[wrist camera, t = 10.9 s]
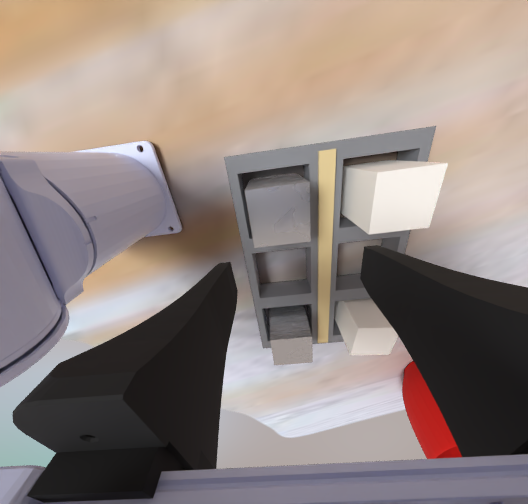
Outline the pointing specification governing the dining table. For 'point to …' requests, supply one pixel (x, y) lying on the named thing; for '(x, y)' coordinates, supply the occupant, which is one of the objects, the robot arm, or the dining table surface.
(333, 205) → the peg board
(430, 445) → the ceramic cup
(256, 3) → the dining table surface
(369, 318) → the cream rectangular block
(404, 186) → the placed cream pin
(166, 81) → the dining table surface
